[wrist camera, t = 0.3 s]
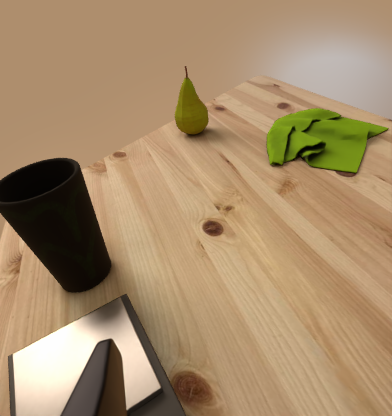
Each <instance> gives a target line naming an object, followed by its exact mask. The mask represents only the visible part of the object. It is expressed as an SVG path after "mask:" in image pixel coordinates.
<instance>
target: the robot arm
mask: <svg viewBox="0 0 392 416" xmlns="http://www.w3.org/2000/svg"><path fill="white" fill-rule="evenodd" d="M60 416H127V408H126V396H125V384H124V372H123V360H122V355H121V353H120V351H119V349H118V347H117V345H116V344H115V342H114V340H113V339H111V338H109V339H105V340H102V341H99V342H98V343H97V344H96V346H95V348H94V350H93V352H92V354H91V356H90V358H89V360H88V362H87V363H86V365H85V367H84V369H83V371H82V373H81V375H80V377H79V379H78V381H77V383H76V385H75V387H74V389H73V391H72V393H71V395H70V397H69V399H68V401H67V403H66V405H65V407H64V409H63V411H62V413H61V415H60Z"/></svg>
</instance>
